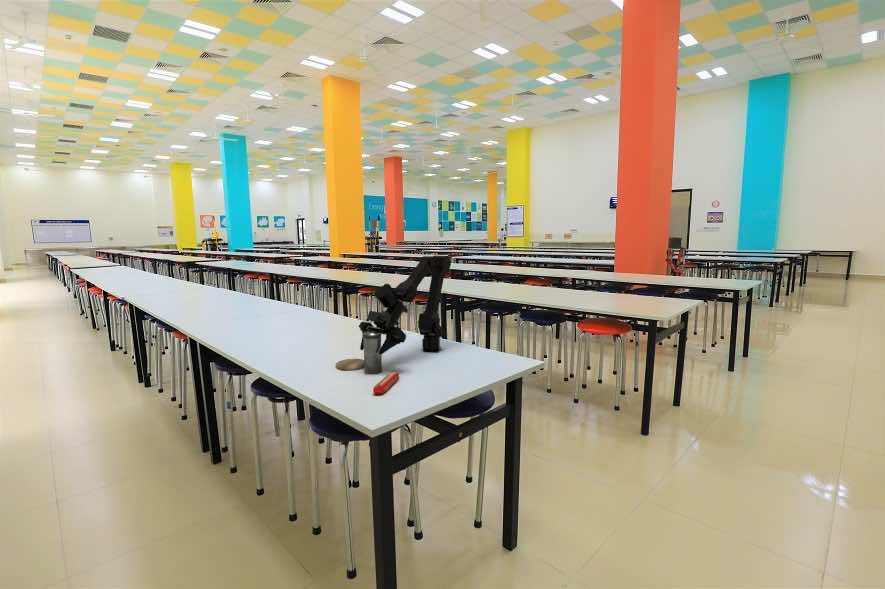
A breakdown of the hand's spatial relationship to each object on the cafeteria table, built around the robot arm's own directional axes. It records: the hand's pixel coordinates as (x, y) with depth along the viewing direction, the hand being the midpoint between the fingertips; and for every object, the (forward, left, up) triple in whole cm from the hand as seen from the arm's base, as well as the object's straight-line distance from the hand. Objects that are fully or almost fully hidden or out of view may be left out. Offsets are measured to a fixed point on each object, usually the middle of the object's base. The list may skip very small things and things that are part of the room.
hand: (370, 351), depth 147 cm
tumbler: (-1, -1, -7) cm, 8 cm away
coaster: (+9, -6, -7) cm, 13 cm away
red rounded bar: (-9, +12, -8) cm, 17 cm away
